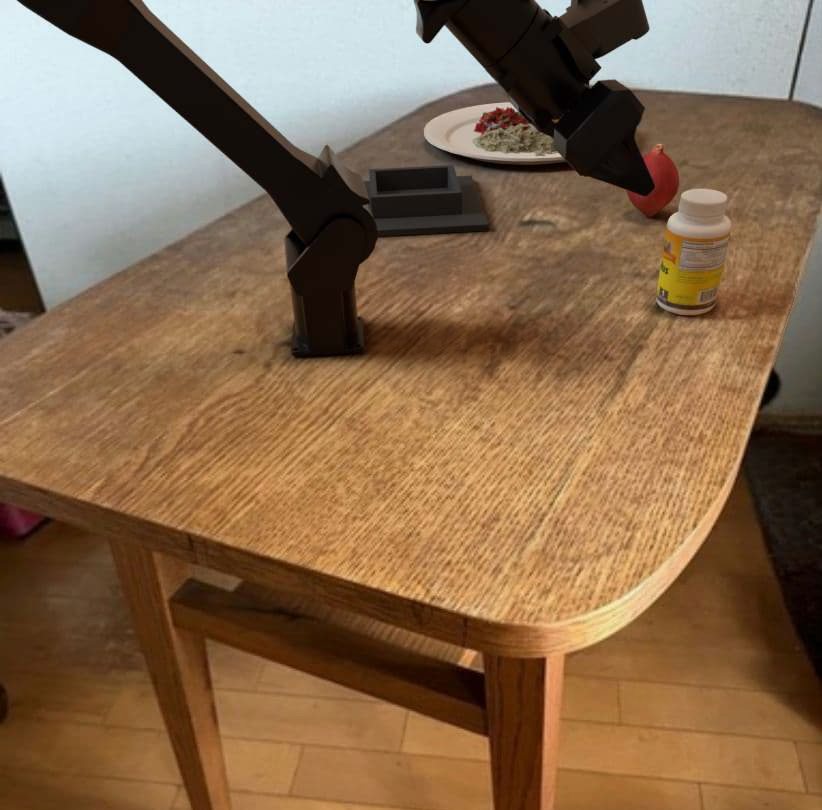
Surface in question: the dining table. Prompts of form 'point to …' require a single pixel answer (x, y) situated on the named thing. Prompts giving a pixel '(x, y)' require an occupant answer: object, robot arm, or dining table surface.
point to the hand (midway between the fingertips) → (631, 174)
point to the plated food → (492, 136)
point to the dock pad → (424, 201)
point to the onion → (657, 182)
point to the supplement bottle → (694, 253)
